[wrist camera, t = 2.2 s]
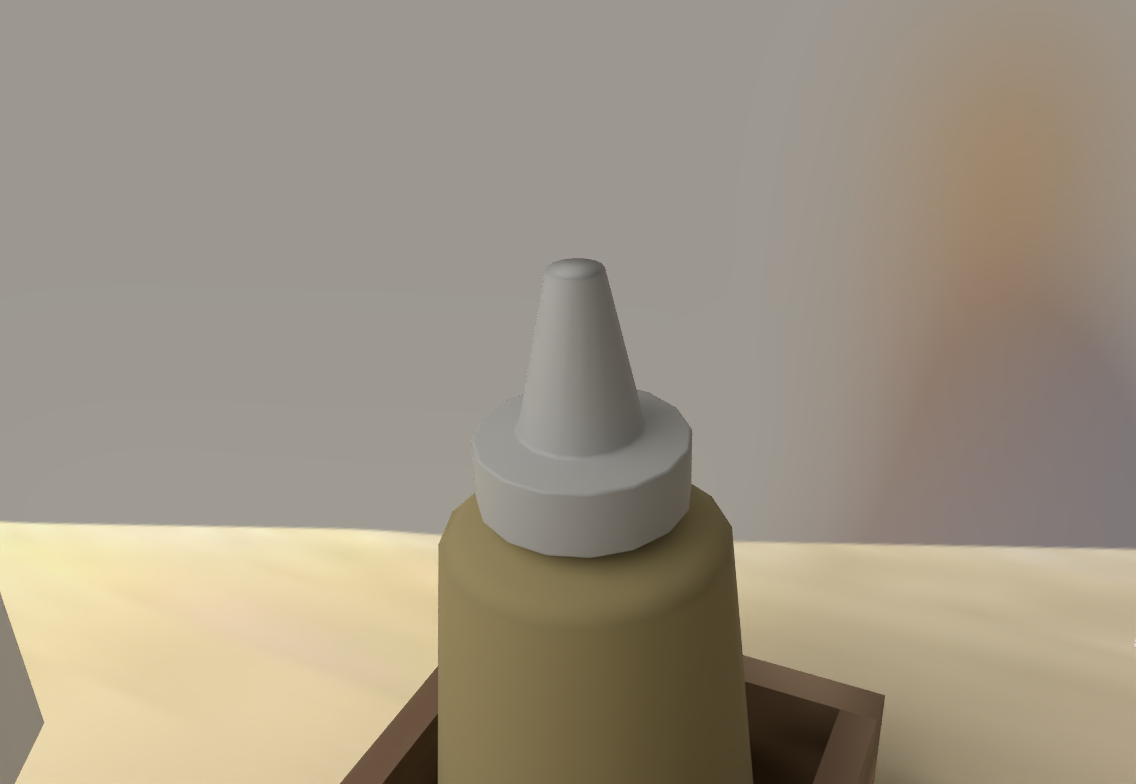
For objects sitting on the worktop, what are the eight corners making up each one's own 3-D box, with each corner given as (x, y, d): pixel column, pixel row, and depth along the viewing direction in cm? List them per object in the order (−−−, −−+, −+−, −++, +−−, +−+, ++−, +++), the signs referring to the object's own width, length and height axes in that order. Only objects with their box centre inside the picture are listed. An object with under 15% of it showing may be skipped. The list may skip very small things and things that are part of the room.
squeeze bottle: (722, 764, 33) (743, 193, 25) (779, 1024, 26) (837, 348, 18) (457, 781, 33) (386, 212, 25) (441, 1047, 26) (335, 377, 17)
